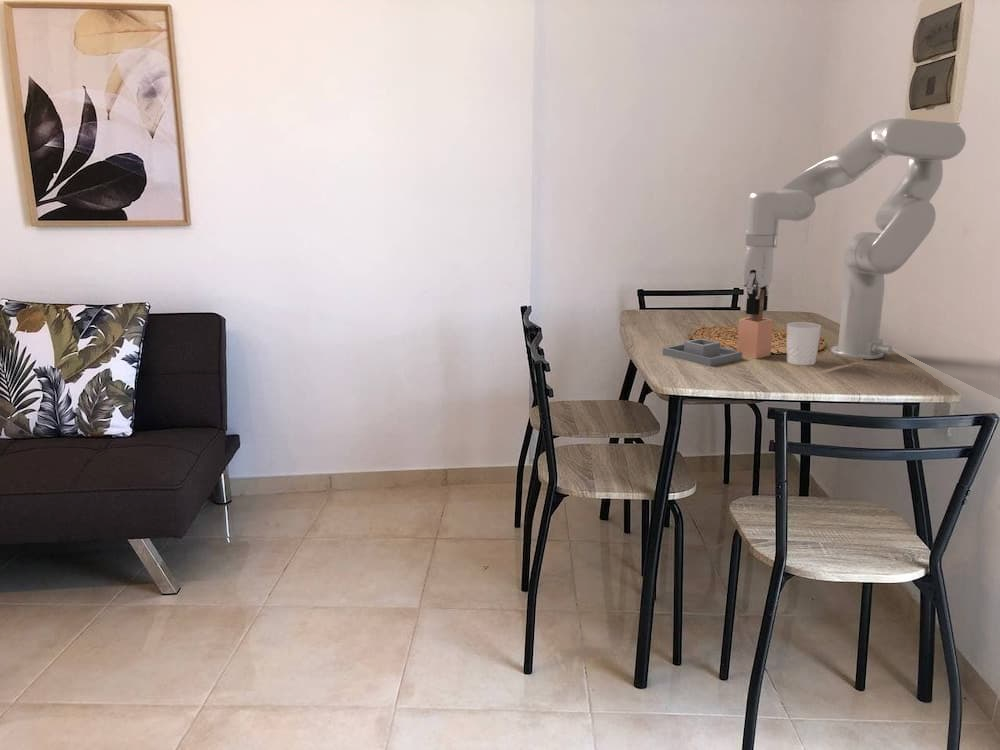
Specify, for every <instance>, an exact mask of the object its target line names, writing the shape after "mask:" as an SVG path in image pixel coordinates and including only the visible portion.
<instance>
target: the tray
mask: <svg viewBox="0 0 1000 750" xmlns="http://www.w3.org/2000/svg"><path fill="white" fill-rule="evenodd" d="M683 342H684V343H681V344H680V343H679V344H674V345H671V346H665V347H662V355H663V356H667V357H670V358H674V359H679V360H683V361H687V362H690V363H695V364H700V365H704V366H706V367H707V366H708V367H713V366H718V365H723V364H726V363H731V362H732V363H733V362H736V361H739V360H742V359H743V356H742V352H740V351H737V350H735V349H729V348H726V347H721V342H720V341H715V340H711V339H706V338H702V337H701V338H697V339H692V340H691V339H690V340H686V341H683Z"/></svg>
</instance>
